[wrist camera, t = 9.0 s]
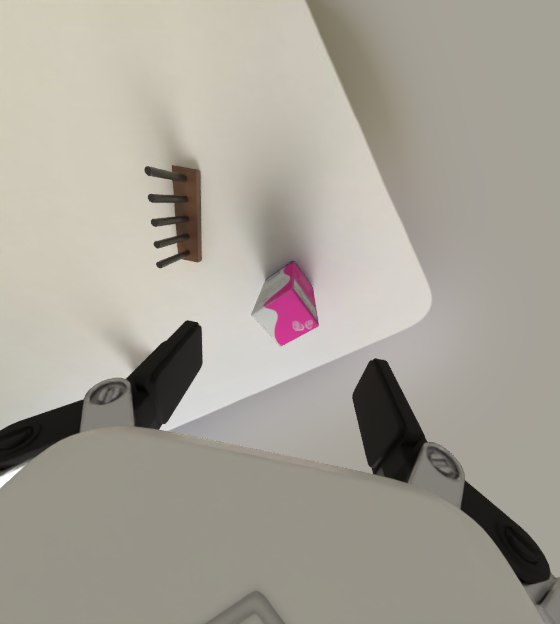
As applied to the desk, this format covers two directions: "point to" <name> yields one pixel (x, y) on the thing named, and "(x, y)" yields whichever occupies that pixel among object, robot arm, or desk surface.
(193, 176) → the rack
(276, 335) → the supplement box
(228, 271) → the desk surface
